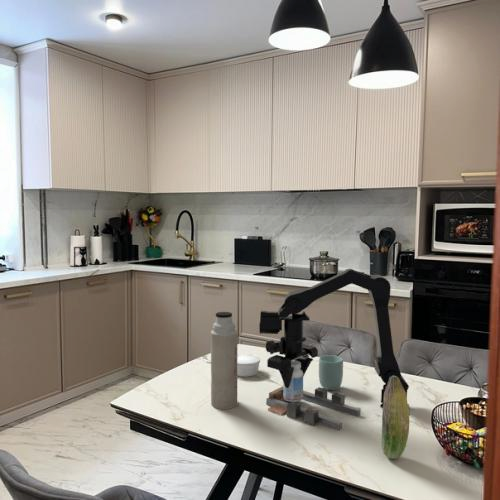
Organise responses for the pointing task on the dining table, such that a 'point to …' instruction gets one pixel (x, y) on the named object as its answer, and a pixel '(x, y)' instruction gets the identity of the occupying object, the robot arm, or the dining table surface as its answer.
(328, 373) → the cup
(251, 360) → the ramekin
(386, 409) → the vegetable
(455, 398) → the dining table surface
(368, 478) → the dining table surface
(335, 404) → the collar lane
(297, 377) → the pill bottle
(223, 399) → the thermos bottle
